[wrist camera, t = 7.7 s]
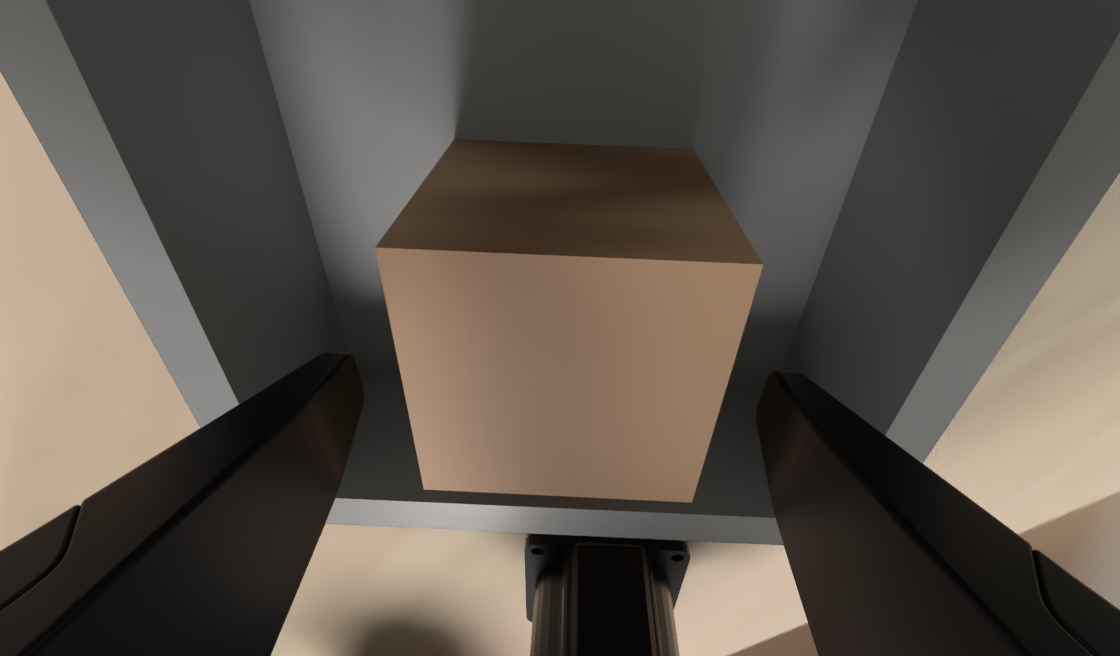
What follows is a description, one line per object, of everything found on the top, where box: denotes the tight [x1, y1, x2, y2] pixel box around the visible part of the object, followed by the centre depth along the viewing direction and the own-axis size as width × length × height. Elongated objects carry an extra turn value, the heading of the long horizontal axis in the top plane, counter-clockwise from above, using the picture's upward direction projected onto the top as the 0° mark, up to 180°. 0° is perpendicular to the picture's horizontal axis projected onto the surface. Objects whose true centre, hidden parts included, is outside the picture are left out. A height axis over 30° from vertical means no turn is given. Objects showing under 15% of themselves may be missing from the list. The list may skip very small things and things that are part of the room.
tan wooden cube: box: [375, 139, 763, 503], centre depth 10 cm, size 5×5×5 cm
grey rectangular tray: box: [0, 0, 1120, 545], centre depth 8 cm, size 18×14×5 cm
